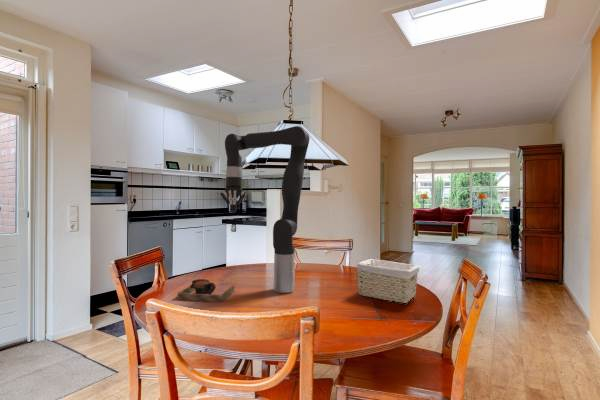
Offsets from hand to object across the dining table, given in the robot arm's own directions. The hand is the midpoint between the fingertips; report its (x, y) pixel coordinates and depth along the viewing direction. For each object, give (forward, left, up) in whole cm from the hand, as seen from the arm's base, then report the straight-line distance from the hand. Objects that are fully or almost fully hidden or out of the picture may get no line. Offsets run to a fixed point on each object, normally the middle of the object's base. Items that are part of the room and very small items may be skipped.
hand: (233, 212), depth 164 cm
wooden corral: (+5, +18, -35) cm, 40 cm away
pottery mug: (+6, +19, -35) cm, 41 cm away
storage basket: (-73, +4, -35) cm, 81 cm away
